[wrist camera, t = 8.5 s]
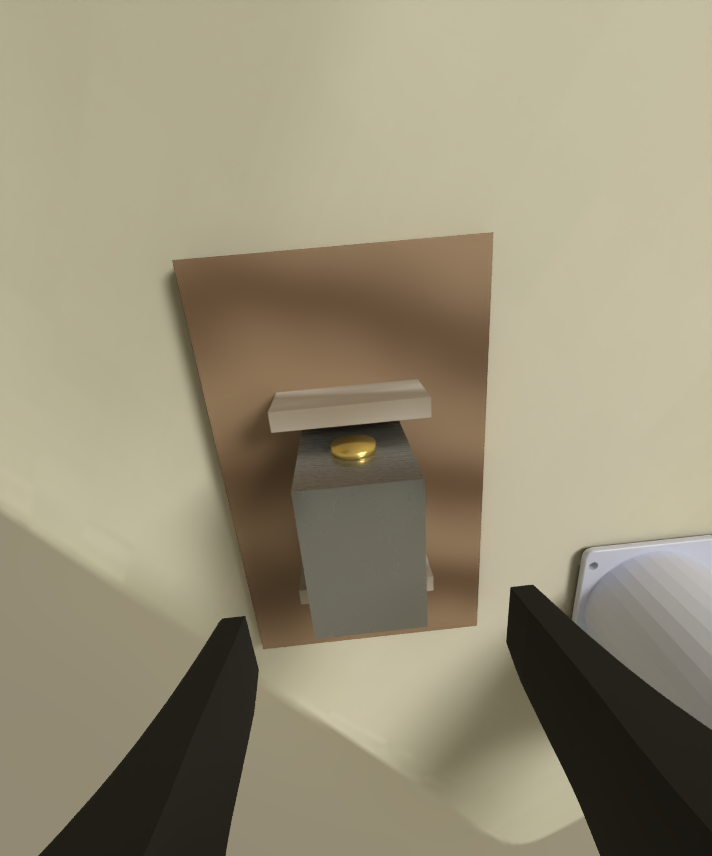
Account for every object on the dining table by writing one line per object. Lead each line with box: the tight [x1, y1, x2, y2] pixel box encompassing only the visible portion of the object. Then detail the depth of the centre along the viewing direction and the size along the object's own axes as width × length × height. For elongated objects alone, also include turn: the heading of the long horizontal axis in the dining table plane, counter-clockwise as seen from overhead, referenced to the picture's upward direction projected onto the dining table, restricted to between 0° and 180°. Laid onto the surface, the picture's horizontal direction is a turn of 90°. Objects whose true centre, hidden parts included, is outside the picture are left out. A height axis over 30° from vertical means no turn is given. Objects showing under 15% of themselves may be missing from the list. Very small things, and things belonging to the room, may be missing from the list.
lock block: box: [291, 420, 428, 639], centre depth 16 cm, size 6×4×6 cm, turn 5°
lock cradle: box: [172, 232, 493, 649], centre depth 18 cm, size 20×12×4 cm, turn 5°
